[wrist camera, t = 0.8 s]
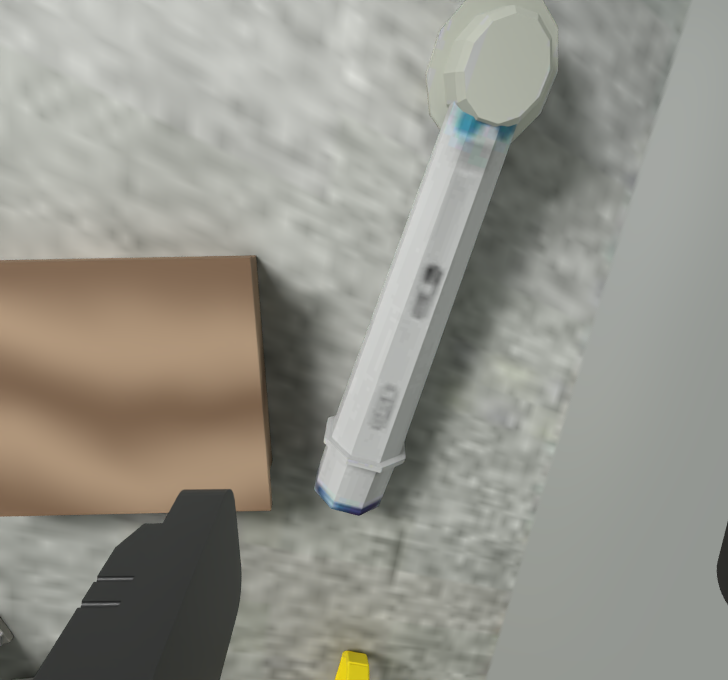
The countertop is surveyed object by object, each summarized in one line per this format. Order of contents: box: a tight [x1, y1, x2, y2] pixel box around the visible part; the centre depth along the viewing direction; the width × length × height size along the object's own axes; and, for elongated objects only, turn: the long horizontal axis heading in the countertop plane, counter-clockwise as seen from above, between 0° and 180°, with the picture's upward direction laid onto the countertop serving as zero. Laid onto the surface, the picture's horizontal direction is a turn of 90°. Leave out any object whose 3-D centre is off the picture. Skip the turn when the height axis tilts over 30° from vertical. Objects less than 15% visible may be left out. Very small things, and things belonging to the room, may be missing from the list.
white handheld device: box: [314, 0, 558, 516], centre depth 26 cm, size 5×7×25 cm
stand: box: [0, 256, 272, 516], centre depth 27 cm, size 13×17×4 cm
